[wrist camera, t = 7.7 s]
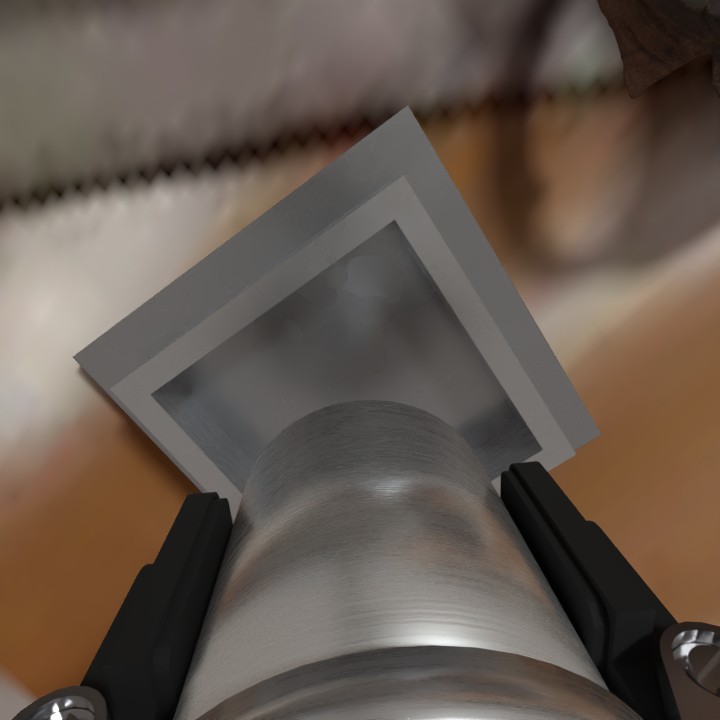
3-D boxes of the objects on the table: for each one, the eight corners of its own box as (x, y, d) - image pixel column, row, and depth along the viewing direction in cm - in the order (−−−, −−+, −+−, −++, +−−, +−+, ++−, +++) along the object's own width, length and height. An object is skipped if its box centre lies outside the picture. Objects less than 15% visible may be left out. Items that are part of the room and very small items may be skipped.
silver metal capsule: (212, 404, 10) (-17, 788, 4) (499, 378, 10) (799, 697, 4) (253, 630, 12) (154, 1162, 5) (496, 605, 12) (693, 1092, 6)
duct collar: (84, 349, 17) (37, 378, 14) (404, 110, 15) (419, 91, 12) (313, 592, 20) (310, 651, 18) (590, 424, 19) (633, 462, 16)
